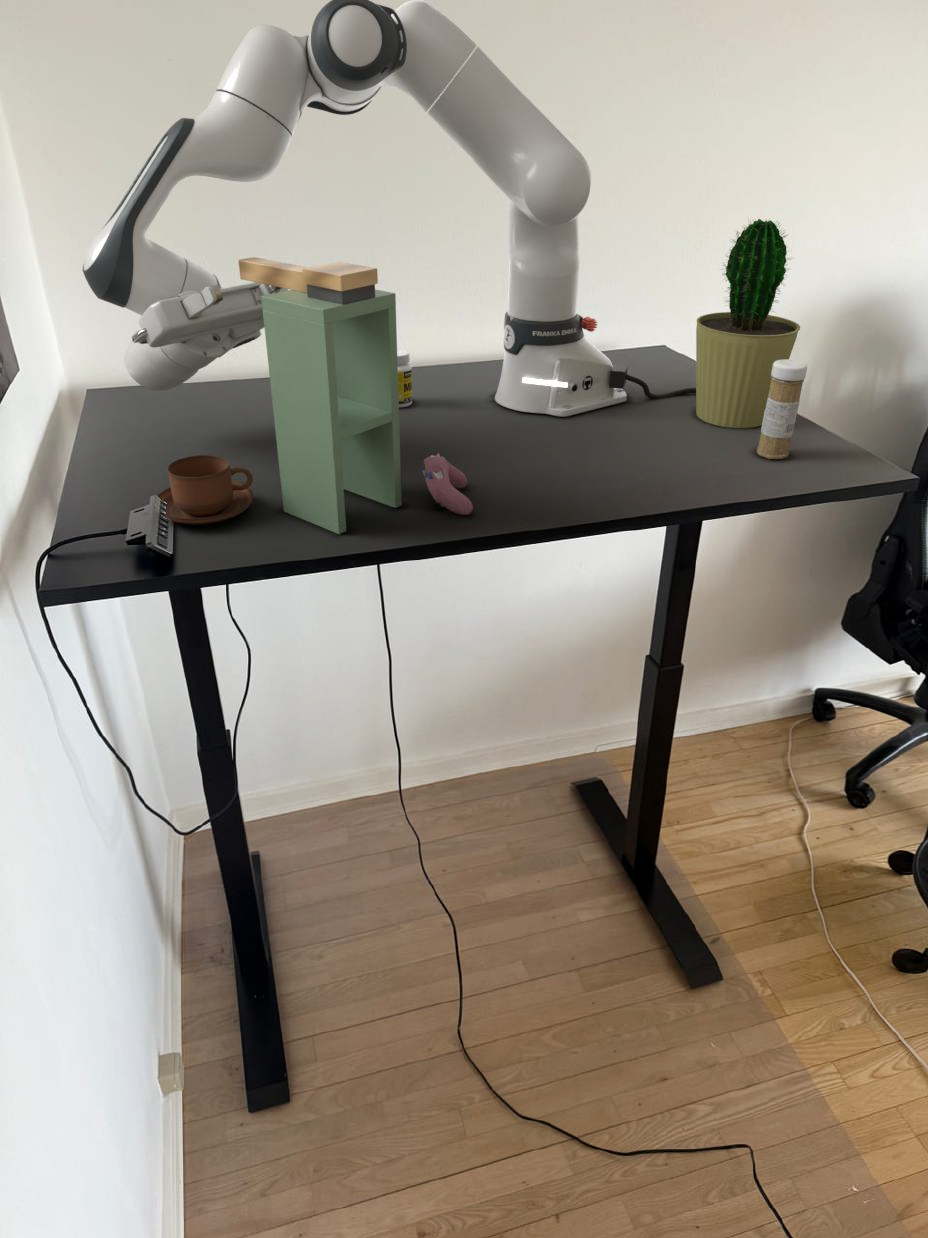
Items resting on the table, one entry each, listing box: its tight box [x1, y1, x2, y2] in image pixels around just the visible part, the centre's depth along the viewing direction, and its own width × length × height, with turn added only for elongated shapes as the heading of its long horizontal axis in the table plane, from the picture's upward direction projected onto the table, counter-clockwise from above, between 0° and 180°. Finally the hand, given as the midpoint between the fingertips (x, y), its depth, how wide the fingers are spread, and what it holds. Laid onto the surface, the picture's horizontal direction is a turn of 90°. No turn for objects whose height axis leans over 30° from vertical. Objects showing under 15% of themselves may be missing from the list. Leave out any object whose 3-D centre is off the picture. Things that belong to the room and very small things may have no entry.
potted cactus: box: [695, 218, 801, 429], centre depth 136 cm, size 15×15×30 cm
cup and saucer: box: [156, 454, 254, 526], centre depth 110 cm, size 12×12×6 cm
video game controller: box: [422, 452, 474, 516], centre depth 113 cm, size 10×5×7 cm, turn 5°
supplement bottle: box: [397, 349, 413, 408], centre depth 146 cm, size 5×5×8 cm
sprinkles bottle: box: [756, 359, 808, 461], centre depth 126 cm, size 5×5×14 cm
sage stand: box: [261, 288, 403, 535], centre depth 106 cm, size 10×11×26 cm
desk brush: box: [238, 256, 379, 304], centre depth 101 cm, size 19×6×3 cm, turn 51°
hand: (248, 285), depth 107 cm, fingers open, 8 cm apart
